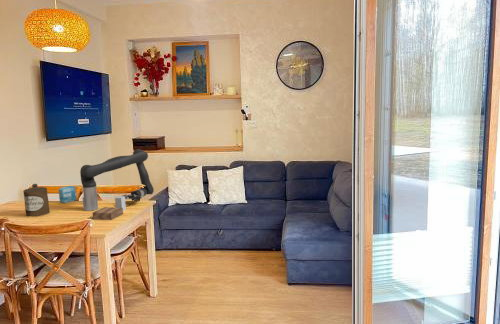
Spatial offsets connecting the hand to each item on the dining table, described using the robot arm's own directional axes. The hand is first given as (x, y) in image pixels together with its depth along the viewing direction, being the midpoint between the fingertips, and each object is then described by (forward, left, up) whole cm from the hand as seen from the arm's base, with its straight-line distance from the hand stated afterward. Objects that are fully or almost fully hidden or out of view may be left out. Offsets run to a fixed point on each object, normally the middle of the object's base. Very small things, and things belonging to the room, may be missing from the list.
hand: (126, 199), depth 278 cm
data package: (-59, +11, -6) cm, 60 cm away
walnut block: (0, -25, -6) cm, 26 cm away
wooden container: (-56, -25, -6) cm, 62 cm away
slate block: (0, -9, -6) cm, 11 cm away
